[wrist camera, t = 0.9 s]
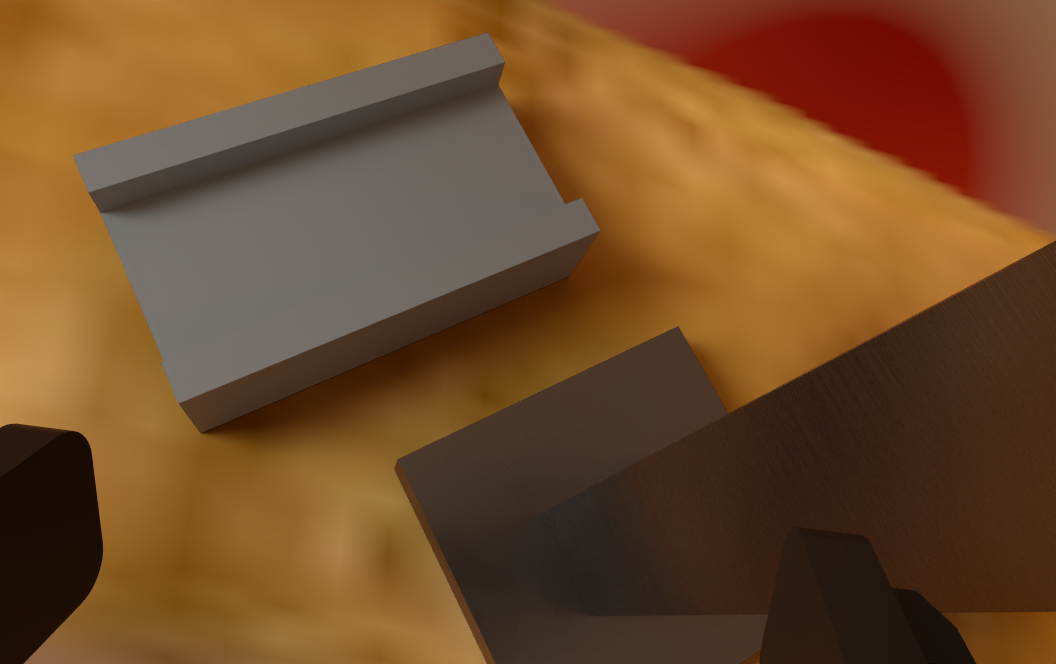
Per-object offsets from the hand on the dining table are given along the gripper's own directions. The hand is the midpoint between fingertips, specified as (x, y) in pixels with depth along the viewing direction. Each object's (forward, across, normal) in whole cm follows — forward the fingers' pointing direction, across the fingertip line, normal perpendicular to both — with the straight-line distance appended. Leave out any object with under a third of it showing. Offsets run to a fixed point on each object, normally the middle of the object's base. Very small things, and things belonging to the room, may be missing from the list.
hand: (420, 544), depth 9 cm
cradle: (+24, +9, +4) cm, 26 cm away
